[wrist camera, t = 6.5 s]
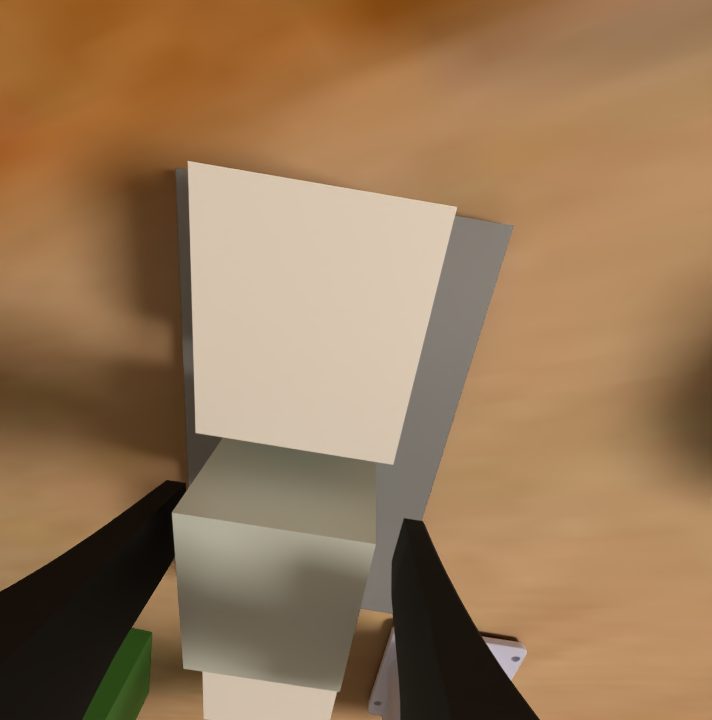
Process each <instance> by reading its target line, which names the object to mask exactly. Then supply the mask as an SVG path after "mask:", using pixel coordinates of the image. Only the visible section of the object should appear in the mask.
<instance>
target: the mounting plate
mask: <svg viewBox="0 0 712 720" xmlns="http://www.w3.org/2000/svg"><path fill="white" fill-rule="evenodd" d="M175 173H176V198H177V222H178V246H179V270H180V294H181V319H182V343H183V367H184V391H185V415H186V440H187V464H188V488H189V487H190V485H191V484H192V482H193V481H194V479H195V478H196V477H197V475H198V474H199V472H200V471H201V469H202V468H203V466H204V465H205V463H206V462H207V460H208V459H209V457H210V456H211V455H212V453H213V452H214V450H215V449H216V447H217V446H218V444H219V443H220V441H221V440H222V438H223V437H224V438H230V439H236V440H242V441H248V442H255V443H261V444H267V445H273V446H279V447H286V448H292V449H298V450H304V451H310V452H317V453H323V454H329V455H335V456H341V457H348V458H354V459H360V460H366V461H372V462H376V546H375V550H374V554H373V559H372V563H371V567H370V571H369V575H368V579H367V583H366V587H365V591H364V595H363V599H362V604H361V608H360V609H365V610H372V611H378V612H385V613H391V614H393V610H392V598H391V569H392V558H393V554H394V551H395V547H396V544H397V540H398V537H399V533H400V530H401V526H402V523H403V519H404V518H407V519H413V520H420V521H422V518H423V515H424V512H425V509H426V505H427V502H428V499H429V496H430V493H431V489H432V486H433V483H434V480H435V477H436V473H437V470H438V467H439V464H440V461H441V457H442V454H443V451H444V448H445V445H446V441H447V438H448V435H449V432H450V429H451V425H452V422H453V419H454V416H455V413H456V409H457V406H458V403H459V400H460V397H461V393H462V390H463V387H464V384H465V381H466V377H467V374H468V371H469V368H470V365H471V361H472V358H473V355H474V352H475V349H476V345H477V342H478V339H479V336H480V332H481V329H482V326H483V323H484V320H485V316H486V313H487V310H488V307H489V304H490V300H491V297H492V294H493V291H494V288H495V284H496V281H497V278H498V275H499V272H500V268H501V265H502V262H503V259H504V256H505V252H506V249H507V246H508V243H509V240H510V236H511V233H512V230H513V227H514V226H513V225H507V224H501V223H495V222H489V221H483V220H477V219H472V218H466V217H460V216H455V214H456V210H457V207H454V206H448V205H442V204H436V203H430V202H425V201H419V200H413V199H407V198H401V197H395V196H389V195H384V194H378V193H372V192H366V191H360V190H354V189H349V188H343V187H337V186H331V185H325V184H319V183H313V182H308V181H302V180H296V179H290V178H284V177H278V176H273V175H267V174H261V173H255V172H249V171H243V170H238V169H232V168H226V167H220V166H214V165H208V164H202V163H197V162H191V161H188V170H185V169H179V168H175ZM202 673H203V708H204V719H208V720H330V718H331V714H332V710H333V706H334V702H335V698H336V694H337V692H336V691H329V690H322V689H316V688H309V687H302V686H296V685H289V684H282V683H276V682H269V681H262V680H256V679H249V678H242V677H236V676H229V675H222V674H216V673H209V672H202Z"/></svg>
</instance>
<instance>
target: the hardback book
mask: <svg viewBox="0 0 712 720" xmlns="http://www.w3.org/2000/svg"><path fill="white" fill-rule="evenodd" d="M151 643H152V632H148V631H143V630H139V629H134V628H131V629H130V631H129V633H128V634H127V636H126V638H125V639H124V641H123V643H122V644H121V646H120V648H119V650H118V651H117V653H116V655H115V657H114V658H113V660H112V662H111V664H110V666H109V668H108V670H107V672H106V674H105V676H104V678H103V680H102V682H101V684H100V686H99V688H98V689H97V691H96V693H95V695H94V697H93V699H92V701H91V703H90V705H89V707H88V709H87V711H86V713H85V715H84V717H83V719H82V720H136V718H137V716H138V714H139V712H140V710H141V708H142V706H143V704H144V702H145V699H146V697H147V695H148V693H149V683H150V663H151Z"/></svg>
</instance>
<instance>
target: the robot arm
mask: <svg viewBox="0 0 712 720" xmlns="http://www.w3.org/2000/svg"><path fill="white" fill-rule="evenodd" d="M185 493H186V483H181V482H175V481H169V480H167V481H165V482H164V483H162V484H161V485H160V486H158V487H157V488H155V489H154V490H153V491H151V492H150V493H149V494H147V495H146V496H145V497H143V498H142V499H141V500H139V501H138V502H137V503H135V504H134V505H133V506H131V507H130V508H129V509H127V510H126V511H125V512H123V513H122V514H120V515H119V516H118V517H116V518H115V519H113V520H112V521H111V522H109V523H108V524H107V525H105V526H104V527H102V528H101V529H100V530H98V531H97V532H95V533H94V534H92V535H91V536H89V537H88V538H86V539H85V540H83V541H82V542H80V543H79V544H77V545H76V546H74V547H73V548H71V549H70V550H68V551H67V552H65V553H64V554H62V555H61V556H59V557H58V558H56V559H55V560H53V561H51V562H50V563H48V564H47V565H45V566H43V567H42V568H40V569H38V570H37V571H35V572H34V573H32V574H30V575H28V576H27V577H25V578H23V579H22V580H20V581H18V582H17V583H15V584H13V585H11V586H10V587H8V588H6V589H4V590H2V591H1V592H0V720H82V719H83V717H84V715H85V713H86V711H87V709H88V707H89V705H90V703H91V701H92V699H93V697H94V695H95V693H96V691H97V689H98V688H99V686H100V684H101V682H102V680H103V678H104V676H105V674H106V672H107V670H108V668H109V666H110V664H111V662H112V660H113V658H114V657H115V655H116V653H117V651H118V650H119V648H120V646H121V644H122V643H123V641H124V639H125V638H126V636H127V634H128V633H129V631H130V629H131V628H132V626H133V625H134V623H135V621H136V620H137V618H138V616H139V615H140V613H141V612H142V610H143V608H144V607H145V605H146V604H147V602H148V600H149V599H150V597H151V595H152V594H153V592H154V591H155V589H156V587H157V586H158V584H159V582H160V581H161V579H162V577H163V576H164V574H165V573H166V571H167V569H168V568H169V566H170V564H171V563H172V561H173V559H174V557H175V548H174V535H173V521H172V512H173V510H174V509H175V507H176V506H177V504H178V503H179V501H180V500H181V499H182V497H183V496H184V494H185ZM391 598H392V610H393V622H394V626H393V628H392V630H391V633H390V636H389V639H388V643H387V646H386V649H385V652H384V655H383V658H382V661H381V664H380V668H379V671H378V674H377V677H376V680H375V683H374V686H373V689H372V693H371V696H370V699H369V702H368V711H369V713H371V714H373V715H379V716H382V720H540V719H539V718H538V717H537V715H536V714H535V713H534V711H533V710H532V709H531V707H530V706H529V705H528V703H527V702H526V701H525V699H524V698H523V697H522V695H521V694H520V693H519V691H518V690H517V689H516V687H515V686H514V684H513V683H512V681H511V680H512V678H513V676H514V675H515V673H516V671H517V670H518V668H519V666H520V664H521V663H522V661H523V659H524V658H525V656H526V654H527V651H526V648H525V646H524V644H522V643H520V642H516V641H509V640H503V639H496V638H490V637H483V636H481V634H480V633H479V631H478V629H477V628H476V626H475V624H474V623H473V621H472V619H471V617H470V616H469V614H468V612H467V610H466V609H465V607H464V605H463V603H462V601H461V600H460V598H459V596H458V594H457V592H456V590H455V588H454V586H453V584H452V582H451V581H450V579H449V577H448V575H447V573H446V571H445V569H444V567H443V565H442V562H441V560H440V558H439V556H438V554H437V552H436V550H435V547H434V545H433V543H432V541H431V538H430V536H429V534H428V531H427V529H426V526H425V524H424V523H423V521H420V520H413V519H407V518H404V519H403V523H402V526H401V530H400V533H399V537H398V540H397V544H396V547H395V551H394V554H393V558H392V569H391Z"/></svg>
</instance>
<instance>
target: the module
mask: <svg viewBox="0 0 712 720" xmlns="http://www.w3.org/2000/svg"><path fill="white" fill-rule="evenodd" d="M172 521H173V535H174V548H175V562H176V575H177V589H178V602H179V615H180V629H181V642H182V656H183V669H189V670H196V671H202V672H209V673H216V674H222V675H229V676H236V677H242V678H249V679H256V680H262V681H269V682H276V683H282V684H289V685H296V686H302V687H309V688H316V689H322V690H329V691H336V692H340V689H341V685H342V681H343V677H344V673H345V669H346V665H347V661H348V657H349V653H350V649H351V644H352V640H353V636H354V632H355V628H356V624H357V620H358V616H359V612H360V608H361V604H362V599H363V595H364V591H365V587H366V583H367V579H368V575H369V571H370V567H371V563H372V559H373V554H374V550H375V546H376V462H372V461H366V460H360V459H354V458H348V457H341V456H335V455H329V454H323V453H317V452H310V451H304V450H298V449H292V448H286V447H279V446H273V445H267V444H261V443H255V442H248V441H242V440H236V439H230V438H224V437H223V438H222V440H221V441H220V443H219V444H218V446H217V447H216V449H215V450H214V452H213V453H212V455H211V456H210V457H209V459H208V460H207V462H206V463H205V465H204V466H203V468H202V469H201V471H200V472H199V474H198V475H197V477H196V478H195V479H194V481H193V482H192V484H191V485H190V487H189V488H188V490H187V491H186V493H185V494H184V496H183V497H182V499H181V500H180V501H179V503H178V504H177V506H176V507H175V509H174V510H173V512H172Z"/></svg>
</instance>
